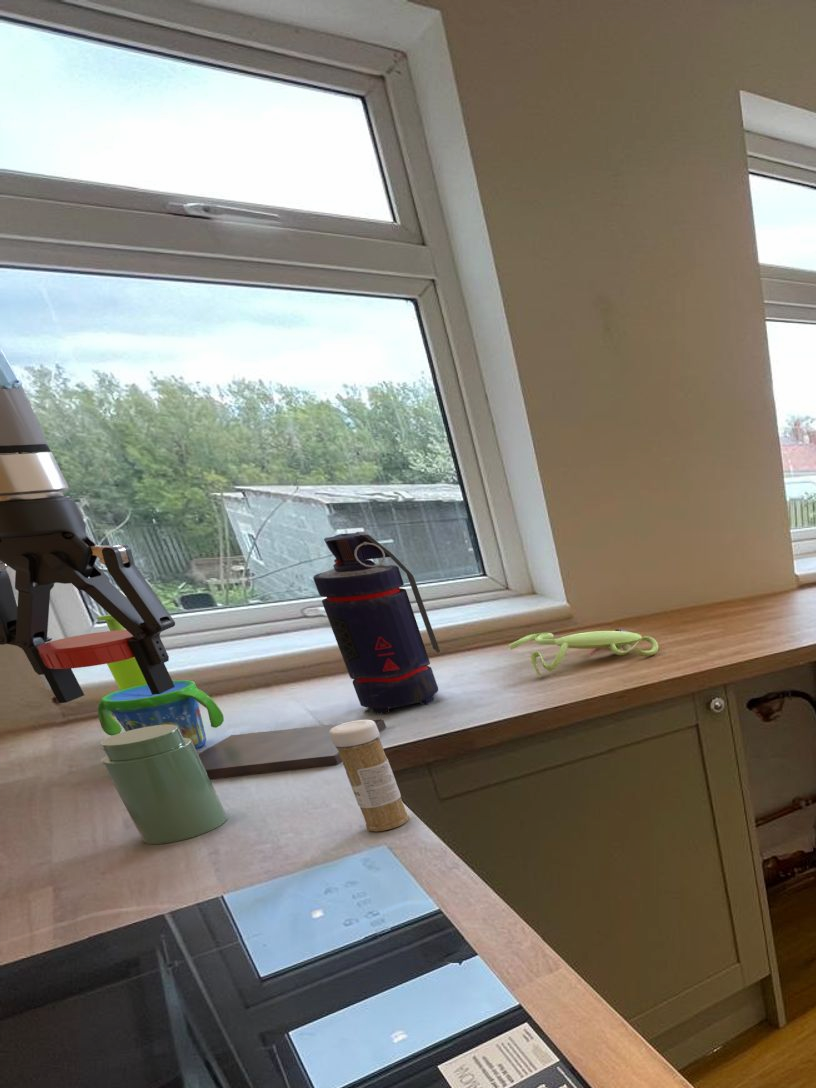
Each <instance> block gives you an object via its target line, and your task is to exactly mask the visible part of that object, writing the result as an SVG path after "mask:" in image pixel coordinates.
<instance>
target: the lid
mask: <svg viewBox="0 0 816 1088" xmlns="http://www.w3.org/2000/svg"><path fill="white" fill-rule="evenodd" d="M132 637H133V635H132V634H130V633H129V632H128V631H127V630H126V629H125V630H116V631H110V630H108V631H107V630H106V631H99V632H92V633H84V634H80V635H74V636H69V637H63V638H60V639H56V640H55V639H54V640H51V641H49V642H46V643H45V644H42V645H40V646H38V647H37V648H38V650H39V652H38V653H39V655H40V656H41V658H42V660H43V662H44V664H45V666H47V668H50V669H79V668H87V667H94V666H101V665H107V663H113V662H117V661H122V660H126V659H130V658H134V655H133V653H132V651H131V649H130V647H129V644H128V642H127V641H129V640H131V639H129V638H132Z"/></svg>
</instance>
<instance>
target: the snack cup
mask: <svg viewBox="0 0 816 1088" xmlns="http://www.w3.org/2000/svg"><path fill="white" fill-rule="evenodd" d="M172 681H173V684H174V686H175V687H174V688H172V689H169V690H167V691H165V692H163V693H161V694H153V695H152V693H151V691H150V689H149V687H148V685H147V684H145V685H140V686H135V687H130V688H126V689H123V690H120V689H119V690H117V691H116V690H115V691H113V692H111V693H108V694H106V695H104V696H103V697H102V698H101V700H100V702H99V703H98V705H97V706H98V707H97V714H98V720H99V724H100V727H101V729H102V730H103V732H104V733H105V734H107V735H108V736H113V735H116V734H119V733H122V732H123V730H124V732H126V731H130V730H134V729H138V728H143V727H149V726H156V725H176V726H178V728H179V730H180V732H181V734H182V736H183V738H189V739H191V740H192V743H193V745H194V747H195V749H196V750H197V749H198V748H201V747H202V746H203V745H204V744H205V743H206V742H207V736H206V735H207V734H206V731H205V726H204V722H203V717H202V715H201V710H200V706H199V705H201V706H203V707H204V708H206V710H207V713H208V719H209V722H210V726H211V728H215V729H216V728H219V727H220V726H221V725H223V723H224V721H225V719H224V718H225V717H224V714H223V712H222V710H221V709H220V708H219V706H218V704H217V703H216V702H215V701H214V700H213V699H212V698H211V697H210V695H209V694H207V693H206V692H205V691H203V690H201V689H199V688H198V687H197V685H196V683H195V681H192V680H187V679H178V680H176V679H175V680H172ZM113 715H114V716H113Z"/></svg>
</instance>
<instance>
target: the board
mask: <svg viewBox="0 0 816 1088" xmlns="http://www.w3.org/2000/svg"><path fill="white" fill-rule="evenodd" d="M371 720H372V721H374V722H375V723H376V726H377V728H378V731H379V733H382V732H383V730H385V729H386V728H387V726H386V723H385V719H383V718H380V719H371ZM343 723H344V722H343ZM343 723H333V724H324V725H323V724H322V725H315V726H314V725H313V726H305V727H296V728H287V729H277V730H268V731H257V732H249V733H241V734H240V733H239V734H230V735H229V736H227V737H225V738H224V739H222V740H220V741H219V742H217V743H215V744H213V745H212V746H210V747H208V748H206V749H205V750H202V751H201V752H200V753H198V755H199V757H200V760H201V762H202V764H203V766H204V768H205V770H206V772H207V774H208V777H209V779H210V780H216V779H224V778H232V777H241V776H248V775H249V776H250V775H258V774H266V773H276V772H285V771H294V770H301V769H310V768H318V767H327V766H335V765H339V764H340V763H343V762H342V759H341V757H340V755H339V752H338V749H337V748H336V746H335V745H334V744H333V742H332V740H331V737H330V734H329V731H330V730H331V729H332V728H333V727H335V726H337V725H340V724H343Z"/></svg>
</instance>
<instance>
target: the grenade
mask: <svg viewBox="0 0 816 1088" xmlns="http://www.w3.org/2000/svg"><path fill="white" fill-rule="evenodd" d="M323 541H324V542H325V544H326V546H327V548H328V550H329V552H330V553H331V554H332V556H333V557H334V558H335V559H334V560H333V562H334V564H333V565H332V566H333V568H332V569H329V570H327V571H324V572H320V573H316V574H314V575H313V577H312V579H313V582H314V585H315V587H316V590H317V592H318V595H319V596H320V597H323V598H324V599H322V600H321V604H322V606H323V609H324V611H325V615H326V616H327V619H328V622H329V626H330V628H331V630H332V632H333V635H334V636H333V637H334V638H335V641H336V644H337V646H338V649H339V652H340V654H341V657H342V659H343V662H344V665H345V669H346V671H347V673H348V676H349V679H351V680H352V685H353V688H354V690H355V693H356V697H357V699H358V702H359V705H360V706H362V707H363V708H368V709H371V710H372V712H373V713H374V714H379V715H381V714H388V713H389V712H390V709H393V708H400V707H405V706H409V705H413V704H416V703H421V705H423V706H424V705H425V706H426V705H428V704H431V703H432V702H434V701H435V697H434V695H436V694H437V693H438V692H439V686H438V684H437V680H436V678H435V675H434V672H433V668H432V667H431V666H429V665H431V661H430V659H429V655H428V653H427V649H426V646H425V644H424V639H423V637H422V634H421V631H420V629H419V626H418V622H417V619H416V616H415V613H414V609H413V607H412V604H411V601H410V598H409V594H408V591H407V589H405V588H401V587H402V586H404V584H405V583H404V580H403V577H402V573H401V570H402V571H403V572H404V574H406V577H407V579H408V582H409V585H410V587H411V590H412V593H413V596H414V598H415V602H416V604H417V607H418V610H419V613H420V615H421V618H422V621H423V624H424V626H425V630H426V632H427V636H428V638H429V640H430V643H431V646H432V649H433V650H434V651H435V652H436V653H440V652H441V649H440V647H439V645H438V641H437V639H436V635H435V633H434V630H433V628H432V625H431V622H430V619H429V615H428V613H427V611H426V608H425V605H424V602H423V599H422V597H421V594H420V590H419V588H418V585H417V582H416V579H415V577H414V574H412V572H411V571H410V570H409V569H408V568H407V567H406V566H405V565H404V564H403V563H402V562H401V561H400V560H399V559H398V558H397V557H396V556H395V555H394V554H393V553H392V552H391V551H390V550H388V549H387V548H386V547H385V546H384V545H382V544H381V543H380V542H379V541H377V540H376V539H375V538H374V537H372V536H371V535H370V534H369V533H367V532H366V531H356V532H352V533H340V534H336V535H334V536H328V537H324V539H323ZM386 558H390V559H391V560H392V561H393V562H394V563H395V565H394V564H384V563H385V560H386ZM374 559H375V560H376V559H382V560H381V561H380V562H379V563H375V562H374V561H373V560H374ZM397 565H398V566H397ZM400 569H401V570H400Z"/></svg>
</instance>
